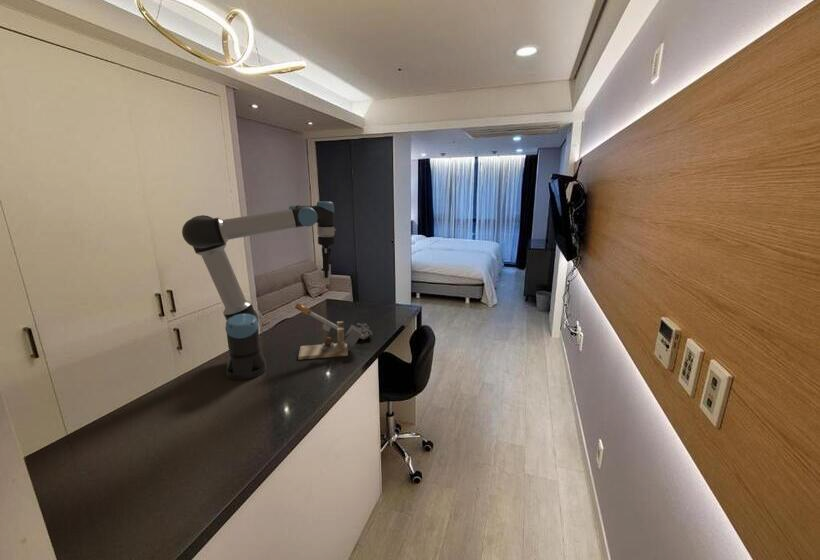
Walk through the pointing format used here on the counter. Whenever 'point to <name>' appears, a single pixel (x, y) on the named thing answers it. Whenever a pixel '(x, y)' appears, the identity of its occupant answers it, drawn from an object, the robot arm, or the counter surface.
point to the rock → (364, 330)
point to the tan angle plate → (326, 347)
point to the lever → (349, 337)
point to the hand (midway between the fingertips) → (327, 280)
